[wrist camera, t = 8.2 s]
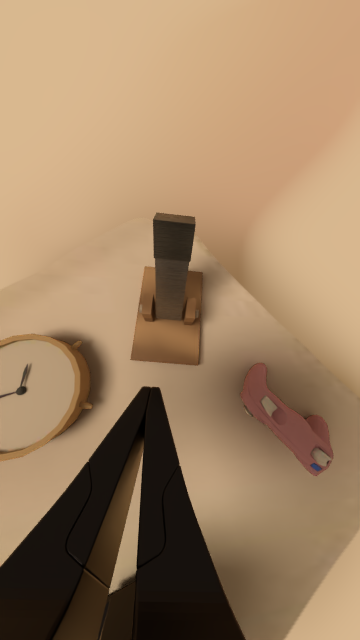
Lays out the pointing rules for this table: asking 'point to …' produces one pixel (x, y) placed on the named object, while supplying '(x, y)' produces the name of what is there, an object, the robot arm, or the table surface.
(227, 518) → the table surface
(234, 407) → the table surface
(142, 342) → the base
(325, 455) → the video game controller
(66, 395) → the alarm clock
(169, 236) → the lever
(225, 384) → the table surface
